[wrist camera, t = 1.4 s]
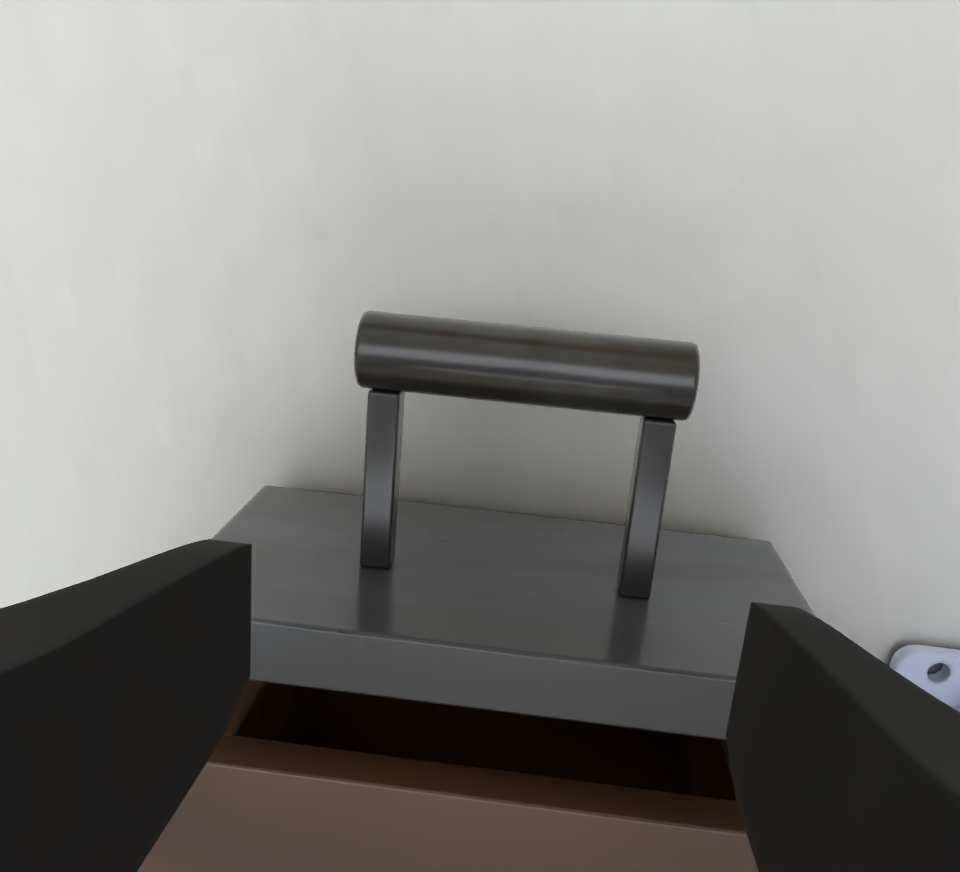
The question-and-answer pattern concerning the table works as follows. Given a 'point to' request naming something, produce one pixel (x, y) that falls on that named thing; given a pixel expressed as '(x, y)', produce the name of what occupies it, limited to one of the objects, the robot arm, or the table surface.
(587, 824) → the cabinet
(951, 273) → the table surface
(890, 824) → the robot arm
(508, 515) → the drawer
